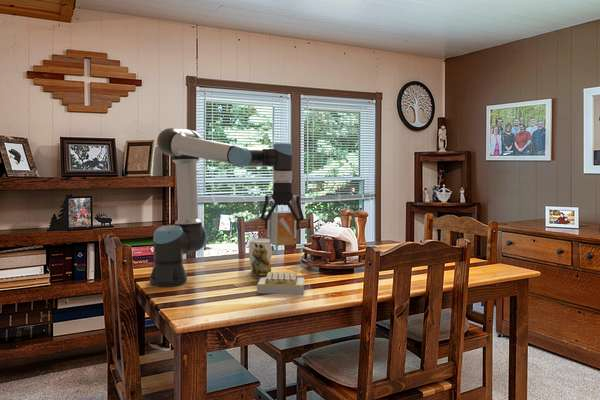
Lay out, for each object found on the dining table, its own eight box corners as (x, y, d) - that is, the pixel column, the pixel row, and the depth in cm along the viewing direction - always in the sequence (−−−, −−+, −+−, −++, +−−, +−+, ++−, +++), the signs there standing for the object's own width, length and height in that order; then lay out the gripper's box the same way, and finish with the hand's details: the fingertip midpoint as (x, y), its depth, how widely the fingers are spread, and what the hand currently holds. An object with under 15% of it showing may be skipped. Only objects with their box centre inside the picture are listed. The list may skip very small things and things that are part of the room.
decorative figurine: (248, 275, 223) (248, 242, 222) (263, 273, 229) (263, 241, 228) (260, 280, 216) (261, 245, 215) (276, 277, 221) (276, 243, 220)
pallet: (265, 285, 195) (265, 278, 195) (267, 277, 207) (268, 272, 207) (295, 285, 195) (295, 279, 195) (296, 278, 207) (296, 272, 207)
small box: (277, 246, 195) (277, 213, 194) (269, 243, 200) (269, 211, 199) (294, 244, 199) (295, 212, 198) (286, 242, 205) (286, 210, 204)
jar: (245, 273, 229) (245, 240, 228) (252, 268, 239) (253, 237, 238) (267, 274, 226) (267, 242, 225) (274, 269, 236) (274, 238, 235)
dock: (257, 293, 194) (257, 284, 194) (260, 284, 208) (261, 275, 208) (303, 294, 194) (303, 285, 194) (304, 285, 208) (304, 276, 208)
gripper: (253, 181, 194) (252, 238, 196) (310, 182, 194) (310, 239, 195) (255, 181, 202) (255, 235, 204) (311, 181, 201) (310, 236, 203)
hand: (281, 237), depth 200 cm, fingers closed on small box, 10 cm apart
